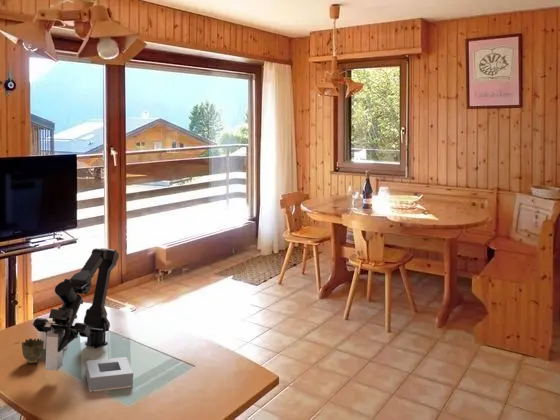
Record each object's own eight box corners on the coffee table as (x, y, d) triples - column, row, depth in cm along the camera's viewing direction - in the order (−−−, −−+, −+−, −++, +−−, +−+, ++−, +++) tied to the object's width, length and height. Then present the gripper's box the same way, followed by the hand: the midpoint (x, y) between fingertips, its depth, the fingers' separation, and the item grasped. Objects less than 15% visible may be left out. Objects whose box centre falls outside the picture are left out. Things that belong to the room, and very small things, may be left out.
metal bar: (51, 364, 184) (52, 328, 182) (62, 365, 183) (64, 329, 182) (45, 369, 180) (46, 332, 178) (56, 370, 179) (58, 334, 178)
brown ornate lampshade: (34, 368, 190) (35, 347, 189) (16, 365, 191) (17, 343, 190) (47, 360, 197) (48, 339, 196) (30, 357, 198) (30, 336, 197)
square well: (85, 374, 189) (85, 360, 188) (125, 369, 195) (126, 356, 194) (89, 391, 176) (90, 377, 176) (132, 386, 182) (133, 373, 182)
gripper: (36, 295, 183) (17, 337, 174) (88, 301, 182) (71, 344, 172) (47, 310, 192) (29, 351, 182) (97, 316, 190) (81, 357, 181)
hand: (52, 350), depth 179 cm, fingers closed on metal bar, 4 cm apart
